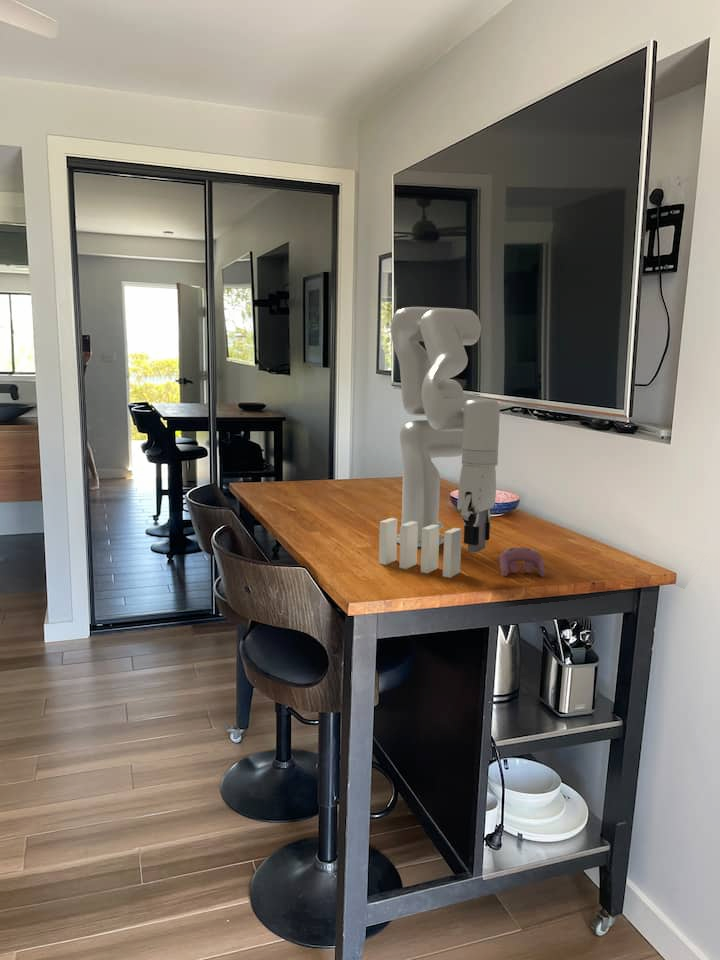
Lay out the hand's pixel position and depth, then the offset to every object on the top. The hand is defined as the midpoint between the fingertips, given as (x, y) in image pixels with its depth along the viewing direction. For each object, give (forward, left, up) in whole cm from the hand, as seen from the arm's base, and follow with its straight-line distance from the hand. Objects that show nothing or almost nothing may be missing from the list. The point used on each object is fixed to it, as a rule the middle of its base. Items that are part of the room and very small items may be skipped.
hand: (476, 540), depth 155 cm
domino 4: (0, -6, -9) cm, 10 cm away
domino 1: (0, -22, -9) cm, 24 cm away
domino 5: (0, 0, -2) cm, 2 cm away
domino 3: (0, -11, -9) cm, 14 cm away
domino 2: (0, -17, -9) cm, 19 cm away
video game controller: (-10, +7, -9) cm, 15 cm away
